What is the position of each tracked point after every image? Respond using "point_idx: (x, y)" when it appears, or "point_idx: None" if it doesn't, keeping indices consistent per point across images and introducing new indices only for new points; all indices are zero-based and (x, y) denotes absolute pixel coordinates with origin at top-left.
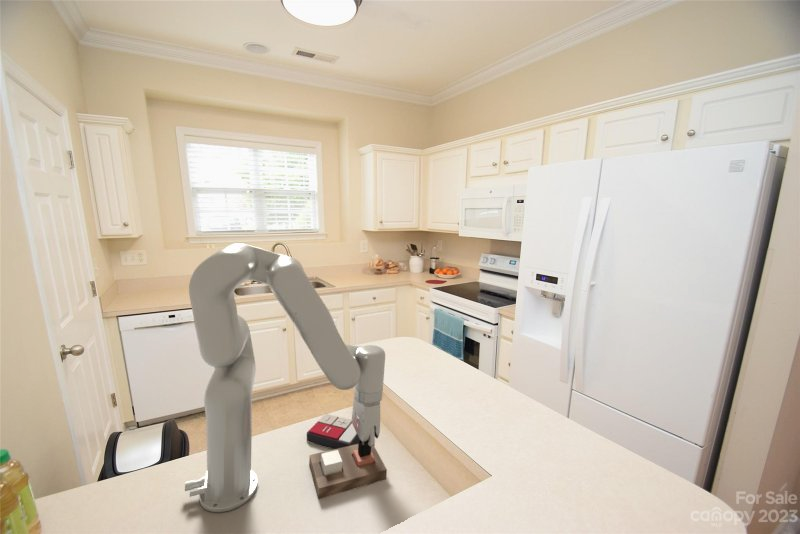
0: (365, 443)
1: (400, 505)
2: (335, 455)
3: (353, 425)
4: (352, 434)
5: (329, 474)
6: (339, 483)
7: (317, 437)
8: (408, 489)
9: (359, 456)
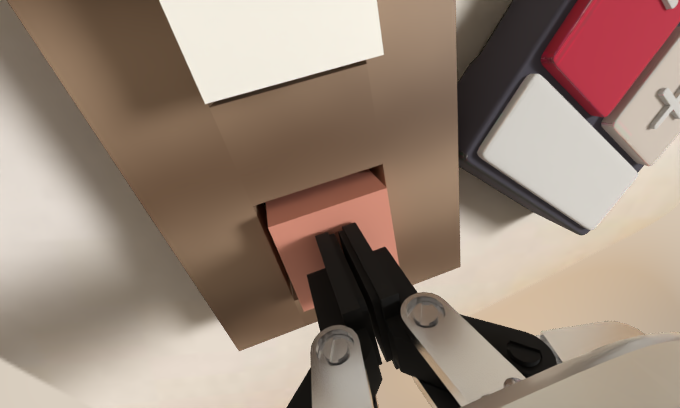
0: (297, 400)
1: (86, 363)
2: (301, 21)
3: (612, 379)
4: (541, 171)
5: None
6: (56, 66)
7: None
8: (189, 378)
9: (324, 230)
